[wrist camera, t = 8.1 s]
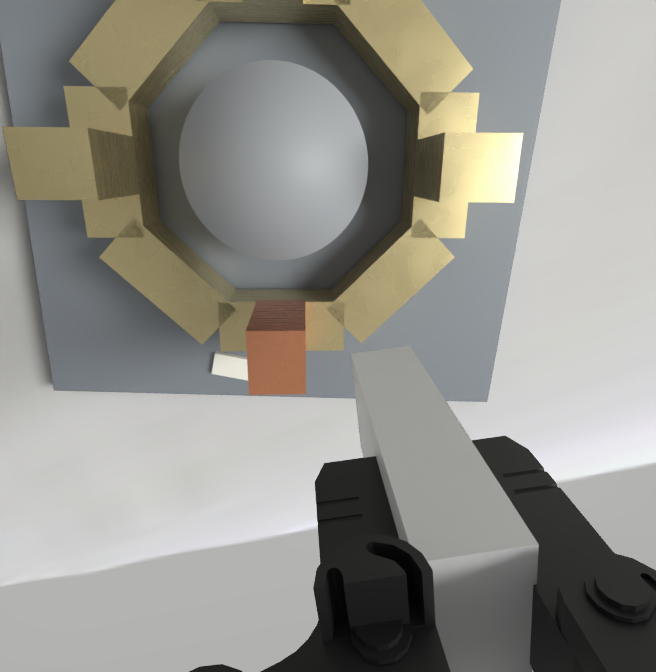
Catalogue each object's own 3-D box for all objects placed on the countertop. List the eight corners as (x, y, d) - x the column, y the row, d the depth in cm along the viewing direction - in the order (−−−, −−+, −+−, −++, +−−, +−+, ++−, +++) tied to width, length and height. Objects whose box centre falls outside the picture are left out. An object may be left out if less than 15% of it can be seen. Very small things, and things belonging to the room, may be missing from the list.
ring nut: (66, -55, 19) (-60, -175, 12) (475, -43, 20) (561, -149, 13) (123, 336, 24) (57, 397, 18) (440, 334, 25) (488, 391, 19)
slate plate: (62, 382, 26) (-4, 440, 21) (-19, -174, 18) (-162, -327, 13) (481, 394, 28) (525, 450, 22) (571, -117, 20) (677, -230, 14)
